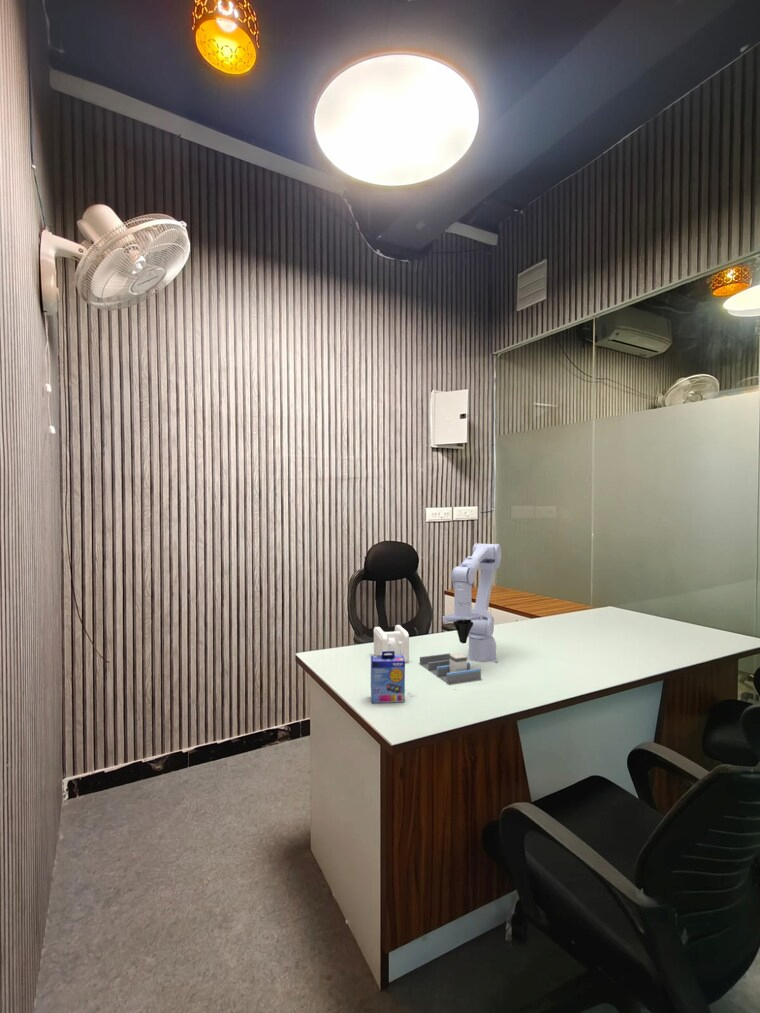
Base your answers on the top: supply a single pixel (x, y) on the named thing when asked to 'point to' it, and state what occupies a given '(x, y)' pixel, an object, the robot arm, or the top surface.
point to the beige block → (458, 662)
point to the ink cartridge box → (387, 678)
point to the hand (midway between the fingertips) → (462, 642)
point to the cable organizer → (392, 642)
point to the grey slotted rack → (442, 670)
